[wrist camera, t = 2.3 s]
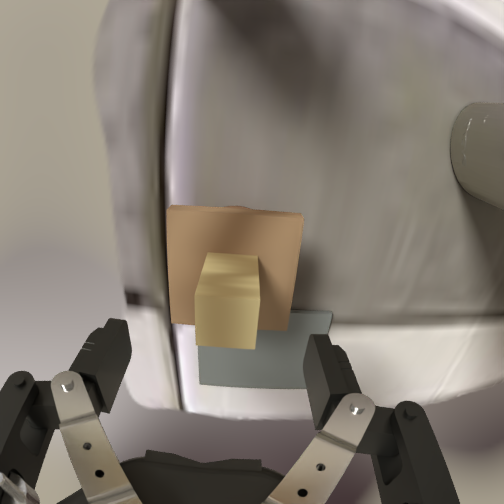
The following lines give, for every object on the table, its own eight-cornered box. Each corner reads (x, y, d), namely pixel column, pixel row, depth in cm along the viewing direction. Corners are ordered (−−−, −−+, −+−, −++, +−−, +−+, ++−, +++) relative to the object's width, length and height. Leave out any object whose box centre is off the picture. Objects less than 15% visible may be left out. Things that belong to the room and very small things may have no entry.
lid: (300, 213, 19) (323, 252, 13) (285, 320, 22) (295, 382, 16) (171, 204, 18) (138, 240, 13) (175, 313, 22) (154, 373, 16)
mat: (331, 311, 27) (332, 314, 26) (311, 385, 31) (311, 388, 30) (197, 304, 27) (196, 307, 26) (200, 381, 30) (199, 384, 30)
